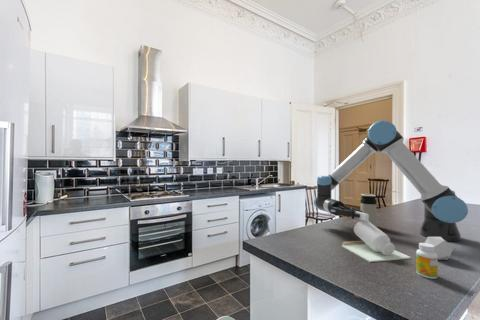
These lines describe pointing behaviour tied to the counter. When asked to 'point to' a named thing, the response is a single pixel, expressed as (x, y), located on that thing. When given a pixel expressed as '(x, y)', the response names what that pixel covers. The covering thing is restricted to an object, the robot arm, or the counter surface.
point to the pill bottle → (374, 237)
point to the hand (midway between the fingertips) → (367, 217)
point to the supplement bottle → (427, 261)
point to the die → (440, 247)
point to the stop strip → (353, 242)
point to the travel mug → (369, 207)
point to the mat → (373, 253)
